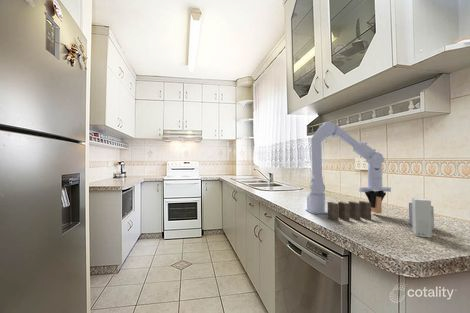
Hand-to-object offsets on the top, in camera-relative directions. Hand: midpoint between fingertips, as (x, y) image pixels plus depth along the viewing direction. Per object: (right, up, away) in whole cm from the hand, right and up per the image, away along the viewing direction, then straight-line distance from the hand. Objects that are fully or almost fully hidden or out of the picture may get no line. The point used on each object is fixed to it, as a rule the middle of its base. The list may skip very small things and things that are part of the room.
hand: (375, 207), depth 107 cm
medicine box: (+5, -3, -21) cm, 21 cm away
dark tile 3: (-13, -3, -7) cm, 15 cm away
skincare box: (-2, -3, -30) cm, 30 cm away
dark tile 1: (-23, -3, -8) cm, 25 cm away
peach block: (0, -2, 0) cm, 2 cm away
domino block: (-8, -3, -6) cm, 11 cm away
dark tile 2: (-18, -3, -7) cm, 20 cm away
